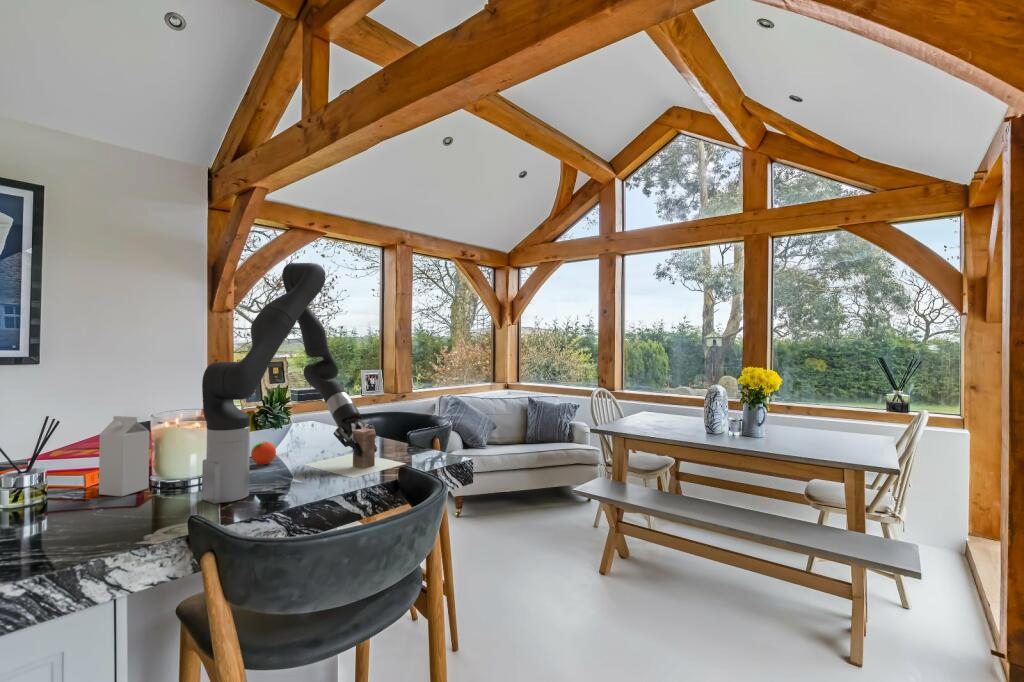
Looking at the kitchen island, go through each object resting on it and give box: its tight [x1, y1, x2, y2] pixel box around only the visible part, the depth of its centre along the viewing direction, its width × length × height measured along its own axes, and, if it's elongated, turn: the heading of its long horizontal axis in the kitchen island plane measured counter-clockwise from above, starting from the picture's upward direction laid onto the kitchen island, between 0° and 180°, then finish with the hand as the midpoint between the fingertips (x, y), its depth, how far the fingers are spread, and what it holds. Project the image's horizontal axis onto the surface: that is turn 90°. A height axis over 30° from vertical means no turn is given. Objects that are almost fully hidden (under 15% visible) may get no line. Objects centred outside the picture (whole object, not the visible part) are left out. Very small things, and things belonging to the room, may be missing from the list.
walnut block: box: [352, 428, 376, 469], centre depth 151 cm, size 4×4×11 cm
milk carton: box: [98, 415, 150, 497], centre depth 125 cm, size 7×7×19 cm
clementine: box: [250, 441, 277, 466], centre depth 154 cm, size 8×7×7 cm
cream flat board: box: [303, 453, 407, 479], centre depth 153 cm, size 20×24×1 cm
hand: (368, 453), depth 150 cm, fingers closed on walnut block, 4 cm apart
